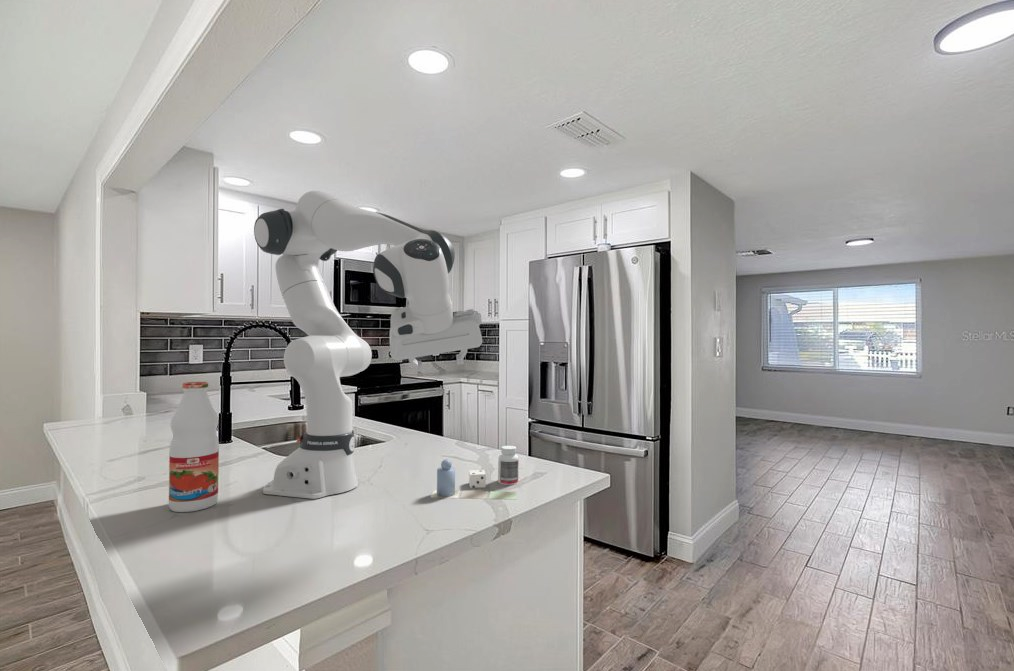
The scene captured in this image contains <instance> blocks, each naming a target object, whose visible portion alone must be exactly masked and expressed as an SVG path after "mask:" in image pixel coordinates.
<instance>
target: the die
mask: <svg viewBox="0 0 1014 671" xmlns="http://www.w3.org/2000/svg"><path fill="white" fill-rule="evenodd" d="M468 471H469V472H468V483H469V488H470V489H471V488H473V489H474V488H487V487H486V485H487V484H486V483H487V482H486V480H487V478H486V477H487V476H486V475H487V473H486V471H485V469H469V470H468Z"/></svg>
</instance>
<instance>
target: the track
mask: <svg viewBox="0 0 1014 671" xmlns="http://www.w3.org/2000/svg"><path fill="white" fill-rule="evenodd" d="M433 490H434V491H433V492H432V493H431V495H430V498H435V499H436V498H437V499H438V498H439V499H458V498H459V499H472V500H474V499H477V500H478V499H480V500H481V499H482V500H487V499H488V500H517V492H518V491H497V490H496V491H492V490H491V491H489V490H462V491H461V490H456V489H455V495H453V496H450V497H441V496H438V495H437V489H433Z"/></svg>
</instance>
